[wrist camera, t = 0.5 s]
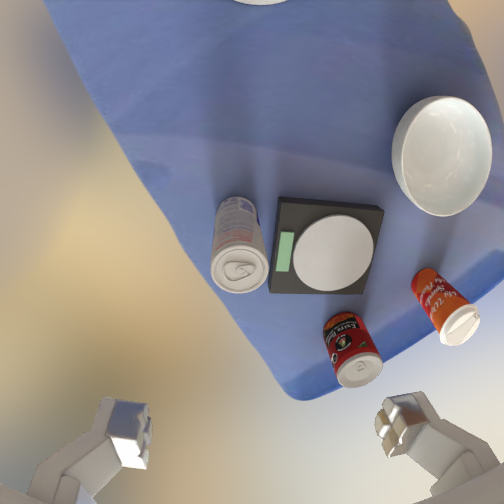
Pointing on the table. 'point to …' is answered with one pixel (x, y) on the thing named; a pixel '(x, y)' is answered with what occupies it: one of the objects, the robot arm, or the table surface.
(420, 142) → the cereal bowl
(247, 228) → the beverage can
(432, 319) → the paper cup
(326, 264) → the scale
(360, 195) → the table surface
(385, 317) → the table surface
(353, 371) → the canned food
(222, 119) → the table surface
